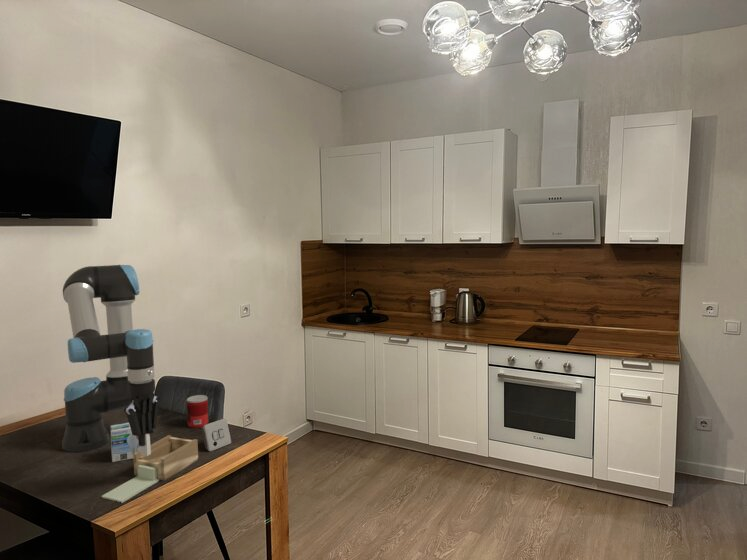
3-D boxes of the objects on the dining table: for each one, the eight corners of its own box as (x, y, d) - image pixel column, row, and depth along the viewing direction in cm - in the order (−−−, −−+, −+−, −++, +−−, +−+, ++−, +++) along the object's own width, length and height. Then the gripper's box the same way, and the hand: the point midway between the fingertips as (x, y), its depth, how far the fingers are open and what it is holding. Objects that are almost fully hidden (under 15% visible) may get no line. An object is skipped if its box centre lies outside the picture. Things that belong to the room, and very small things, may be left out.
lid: (101, 499, 154) (100, 484, 153) (139, 477, 166) (138, 464, 166) (122, 504, 150) (121, 489, 150) (159, 482, 163) (158, 468, 163)
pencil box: (134, 475, 167) (133, 454, 166) (169, 454, 182) (168, 435, 181) (164, 480, 163) (163, 459, 162) (198, 459, 178) (197, 439, 177)
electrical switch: (209, 452, 184) (207, 426, 183) (201, 450, 187) (198, 424, 187) (231, 444, 191) (229, 418, 191) (223, 441, 194) (221, 417, 194)
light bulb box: (112, 462, 176) (110, 431, 175) (111, 455, 182) (109, 425, 181) (146, 456, 181) (144, 425, 180) (145, 448, 187) (143, 419, 186)
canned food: (212, 423, 211) (211, 396, 210) (196, 430, 204) (195, 402, 203) (200, 419, 215) (198, 393, 214) (183, 426, 208) (182, 399, 207)
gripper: (134, 387, 154) (139, 465, 156) (166, 375, 166) (170, 447, 168) (115, 385, 156) (119, 461, 159) (147, 373, 168) (151, 444, 171)
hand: (145, 454), depth 163 cm, fingers closed
